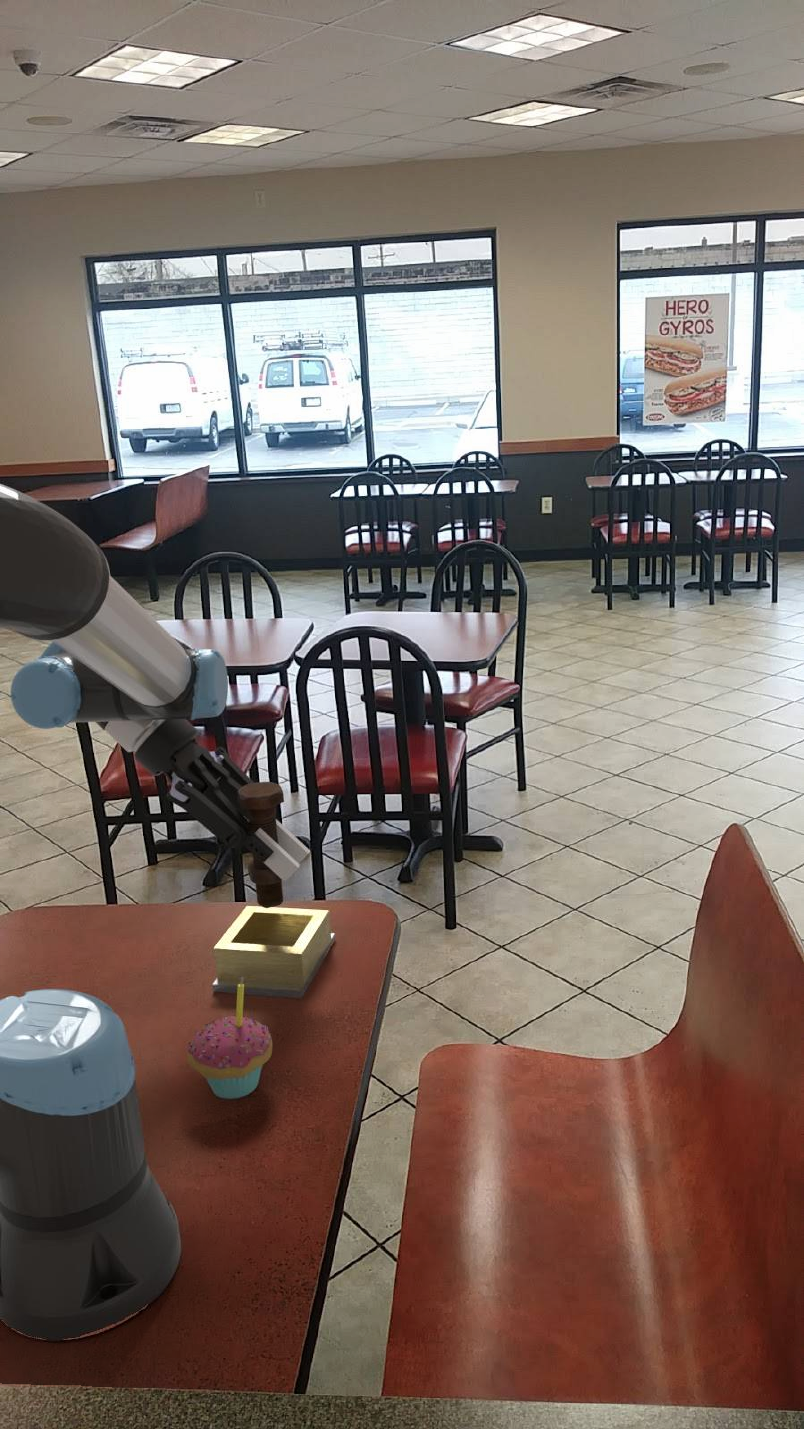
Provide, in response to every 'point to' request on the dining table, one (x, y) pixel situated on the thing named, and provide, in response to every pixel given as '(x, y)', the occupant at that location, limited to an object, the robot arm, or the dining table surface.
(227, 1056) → the cupcake
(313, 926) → the mount
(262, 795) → the bolt
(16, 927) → the dining table surface
